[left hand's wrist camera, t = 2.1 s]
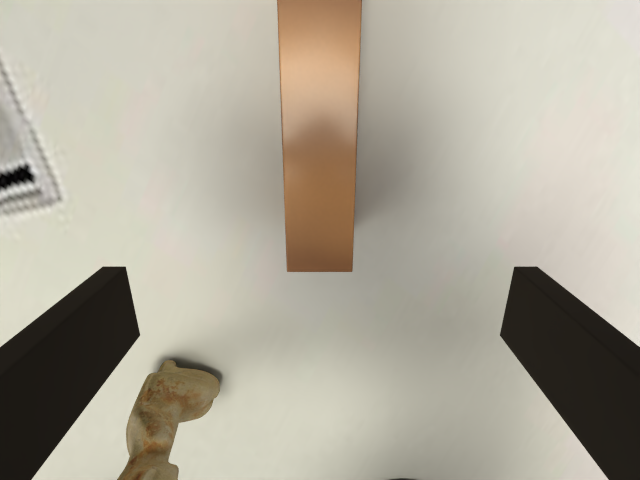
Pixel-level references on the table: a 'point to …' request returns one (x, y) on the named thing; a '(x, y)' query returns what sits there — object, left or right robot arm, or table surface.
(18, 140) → the table surface
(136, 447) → the sculpture
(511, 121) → the table surface
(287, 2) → the beam
